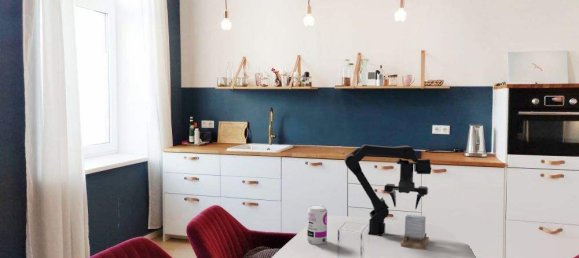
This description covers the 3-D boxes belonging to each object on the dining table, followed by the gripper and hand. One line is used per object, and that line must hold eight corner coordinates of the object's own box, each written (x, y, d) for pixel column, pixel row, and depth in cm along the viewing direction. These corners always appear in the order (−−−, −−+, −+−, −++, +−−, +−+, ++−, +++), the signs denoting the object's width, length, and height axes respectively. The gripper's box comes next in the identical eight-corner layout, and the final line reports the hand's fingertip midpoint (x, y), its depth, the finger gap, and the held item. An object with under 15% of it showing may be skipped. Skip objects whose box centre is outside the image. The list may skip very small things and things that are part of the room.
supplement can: (328, 240, 208) (329, 206, 207) (323, 245, 200) (324, 210, 199) (310, 238, 211) (311, 204, 210) (304, 243, 203) (305, 208, 202)
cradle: (400, 246, 201) (401, 239, 201) (405, 237, 213) (405, 231, 213) (425, 249, 198) (425, 242, 197) (428, 240, 210) (428, 233, 209)
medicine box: (425, 236, 206) (425, 216, 205) (423, 239, 202) (424, 218, 201) (406, 233, 209) (407, 214, 208) (404, 236, 205) (405, 216, 204)
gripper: (382, 175, 212) (381, 209, 214) (426, 178, 206) (425, 214, 207) (386, 171, 223) (385, 204, 224) (428, 174, 216) (427, 208, 217)
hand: (405, 208), depth 218 cm, fingers open, 9 cm apart
